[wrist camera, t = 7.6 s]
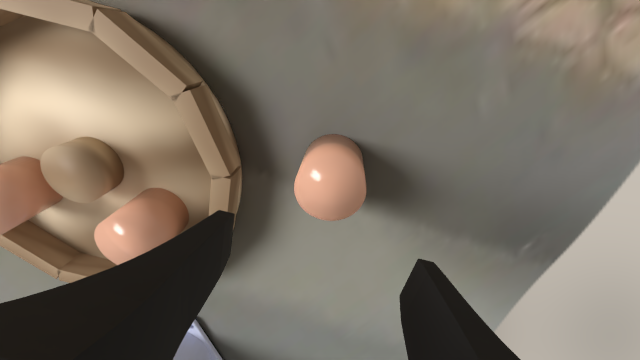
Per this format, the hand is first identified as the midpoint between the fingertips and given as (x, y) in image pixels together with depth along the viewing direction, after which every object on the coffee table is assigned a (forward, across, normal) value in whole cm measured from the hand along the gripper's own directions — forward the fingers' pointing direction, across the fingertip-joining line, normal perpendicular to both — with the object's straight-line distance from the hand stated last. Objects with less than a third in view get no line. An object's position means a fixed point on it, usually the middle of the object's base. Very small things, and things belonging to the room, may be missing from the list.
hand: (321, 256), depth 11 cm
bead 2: (+9, +11, +7) cm, 16 cm away
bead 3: (+10, 0, 0) cm, 10 cm away
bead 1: (+9, +21, +7) cm, 24 cm away
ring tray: (+9, +16, +4) cm, 19 cm away
